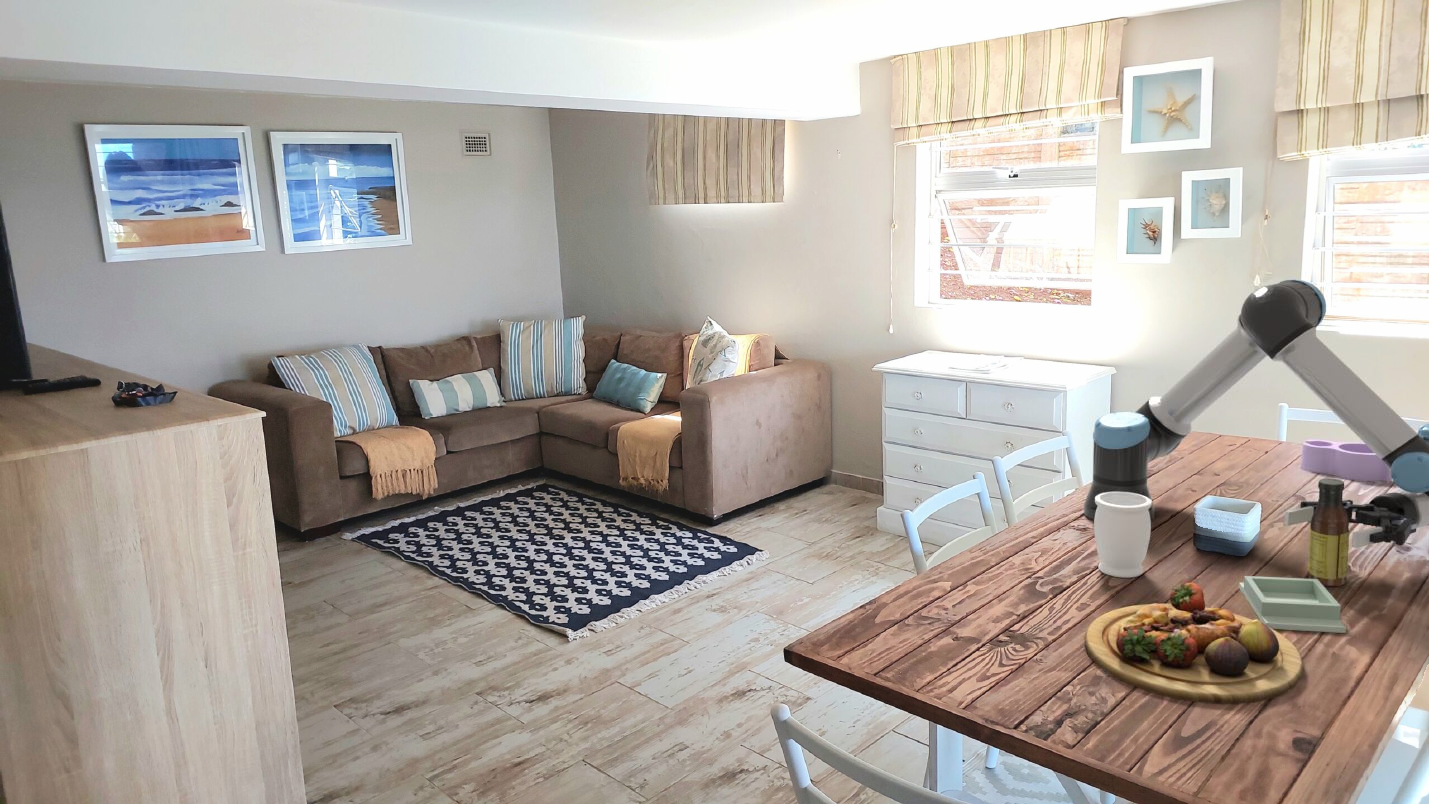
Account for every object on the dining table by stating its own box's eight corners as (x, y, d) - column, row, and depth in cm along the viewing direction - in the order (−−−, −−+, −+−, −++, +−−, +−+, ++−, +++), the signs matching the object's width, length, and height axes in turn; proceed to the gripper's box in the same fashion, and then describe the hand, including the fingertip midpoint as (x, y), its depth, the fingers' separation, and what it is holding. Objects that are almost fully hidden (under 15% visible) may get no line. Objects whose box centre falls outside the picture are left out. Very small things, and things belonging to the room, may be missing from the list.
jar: (1154, 581, 186) (1157, 507, 183) (1098, 580, 189) (1100, 506, 186) (1142, 561, 197) (1144, 490, 194) (1088, 560, 199) (1090, 490, 196)
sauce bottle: (1335, 574, 185) (1343, 475, 181) (1353, 587, 179) (1362, 485, 175) (1299, 575, 185) (1306, 476, 181) (1316, 588, 179) (1324, 485, 175)
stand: (1265, 628, 165) (1266, 609, 164) (1239, 587, 182) (1240, 569, 181) (1345, 632, 161) (1347, 613, 161) (1310, 590, 178) (1312, 572, 178)
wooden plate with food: (1120, 600, 179) (1120, 559, 178) (1319, 641, 159) (1322, 594, 157) (1055, 672, 156) (1055, 625, 154) (1280, 731, 135) (1282, 677, 134)
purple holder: (1296, 472, 249) (1298, 446, 248) (1308, 461, 258) (1310, 436, 257) (1389, 485, 236) (1391, 457, 234) (1398, 473, 244) (1401, 446, 243)
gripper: (1340, 476, 197) (1262, 492, 190) (1470, 510, 173) (1387, 529, 167) (1337, 511, 198) (1259, 528, 191) (1466, 549, 175) (1383, 570, 168)
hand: (1318, 529), depth 179 cm, fingers open, 13 cm apart
